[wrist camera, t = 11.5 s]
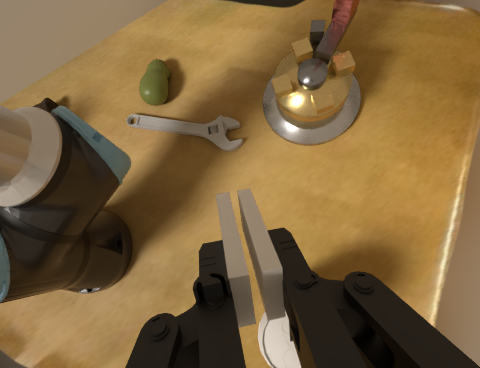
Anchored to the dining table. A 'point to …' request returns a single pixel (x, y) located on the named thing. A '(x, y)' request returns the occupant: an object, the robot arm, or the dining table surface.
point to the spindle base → (311, 133)
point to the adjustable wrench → (192, 129)
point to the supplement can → (277, 343)
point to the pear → (155, 83)
